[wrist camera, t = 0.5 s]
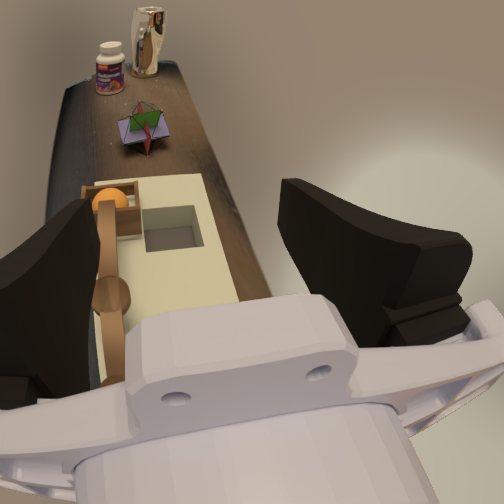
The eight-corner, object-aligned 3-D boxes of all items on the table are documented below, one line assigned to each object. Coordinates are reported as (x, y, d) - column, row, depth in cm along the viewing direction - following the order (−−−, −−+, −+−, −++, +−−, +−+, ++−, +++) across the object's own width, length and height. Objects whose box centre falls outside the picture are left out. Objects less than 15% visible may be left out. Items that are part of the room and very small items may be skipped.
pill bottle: (94, 97, 49) (94, 49, 42) (98, 85, 52) (98, 41, 45) (122, 94, 51) (124, 47, 44) (124, 83, 54) (126, 39, 47)
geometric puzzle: (179, 150, 40) (171, 91, 37) (128, 160, 37) (119, 99, 34) (164, 153, 46) (156, 102, 43) (120, 162, 43) (112, 109, 40)
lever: (175, 421, 19) (174, 404, 14) (96, 431, 17) (66, 416, 12) (138, 193, 31) (137, 137, 26) (85, 199, 29) (76, 143, 24)
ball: (131, 232, 29) (128, 205, 26) (94, 236, 28) (88, 209, 25) (129, 205, 31) (127, 178, 28) (95, 209, 30) (90, 181, 27)
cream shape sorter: (256, 397, 26) (281, 374, 20) (115, 422, 21) (94, 407, 16) (197, 195, 39) (204, 147, 33) (98, 204, 34) (91, 154, 29)
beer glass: (123, 72, 58) (127, 8, 46) (150, 65, 62) (156, 5, 50) (138, 81, 56) (144, 13, 44) (166, 74, 59) (175, 10, 48)
